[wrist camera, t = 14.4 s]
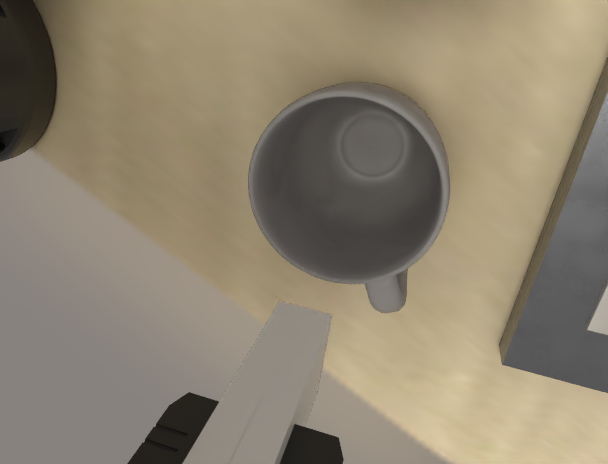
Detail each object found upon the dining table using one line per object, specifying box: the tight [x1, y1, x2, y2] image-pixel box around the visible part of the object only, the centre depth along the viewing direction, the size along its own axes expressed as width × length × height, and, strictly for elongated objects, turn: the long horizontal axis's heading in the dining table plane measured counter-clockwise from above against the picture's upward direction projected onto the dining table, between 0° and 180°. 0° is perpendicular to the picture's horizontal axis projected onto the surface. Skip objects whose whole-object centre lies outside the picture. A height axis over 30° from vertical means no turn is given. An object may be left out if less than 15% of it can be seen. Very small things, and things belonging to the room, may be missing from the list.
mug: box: [248, 82, 450, 313], centre depth 26 cm, size 12×9×10 cm
